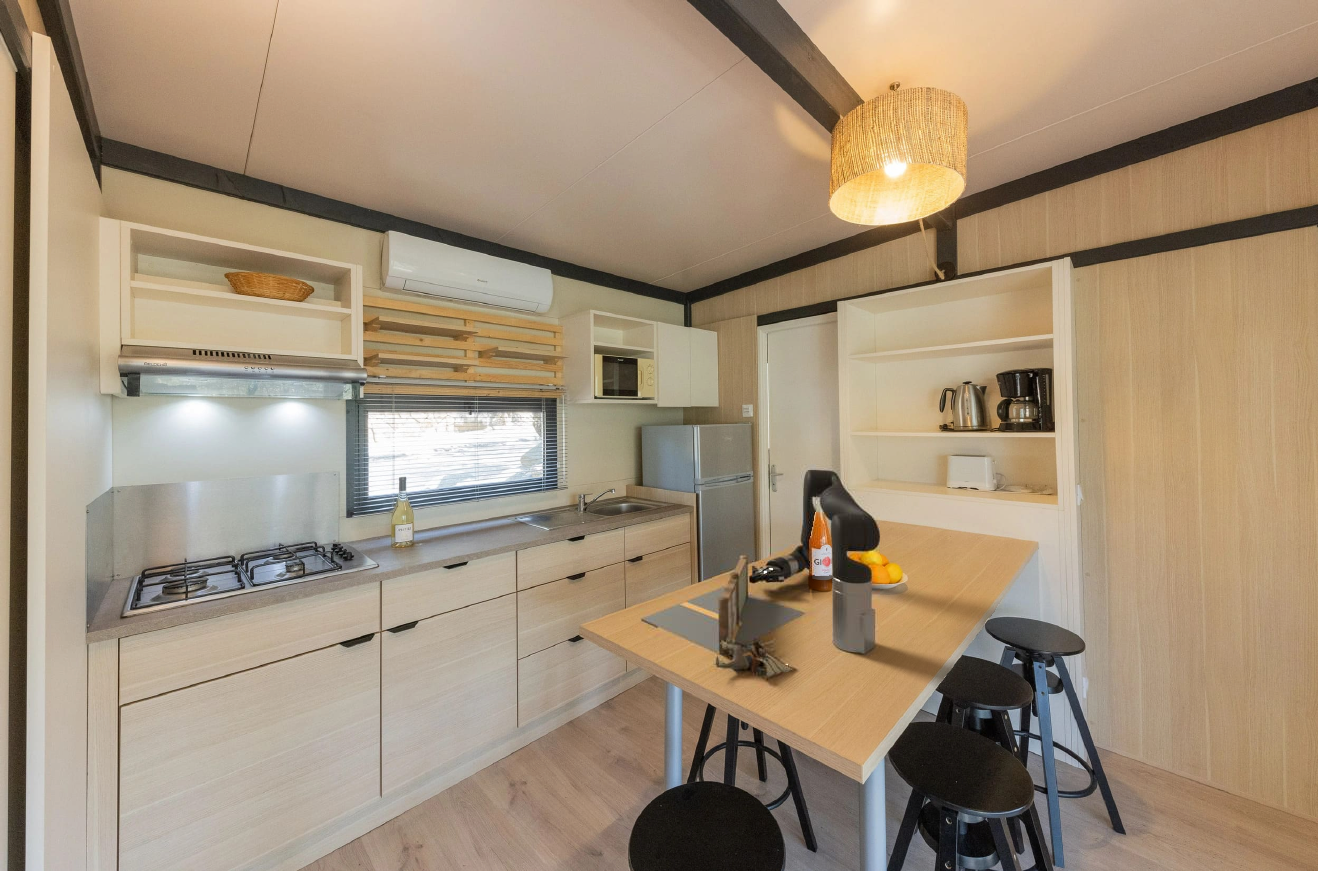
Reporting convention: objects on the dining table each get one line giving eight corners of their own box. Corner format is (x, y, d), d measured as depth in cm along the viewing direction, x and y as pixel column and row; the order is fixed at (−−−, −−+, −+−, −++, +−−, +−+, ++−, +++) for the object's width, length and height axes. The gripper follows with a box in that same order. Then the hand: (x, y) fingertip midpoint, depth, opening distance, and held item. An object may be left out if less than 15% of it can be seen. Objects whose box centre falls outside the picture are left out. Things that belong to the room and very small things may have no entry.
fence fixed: (731, 621, 136) (730, 572, 136) (739, 621, 136) (739, 572, 135) (718, 654, 117) (717, 597, 117) (727, 655, 117) (727, 598, 116)
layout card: (807, 614, 141) (807, 612, 141) (725, 659, 116) (725, 656, 116) (724, 587, 164) (724, 586, 164) (640, 620, 139) (640, 618, 139)
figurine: (743, 619, 124) (808, 642, 114) (741, 641, 125) (805, 666, 115) (704, 651, 108) (776, 681, 98) (702, 676, 108) (773, 709, 99)
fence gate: (739, 620, 136) (739, 574, 135) (731, 619, 137) (730, 574, 136) (748, 595, 155) (748, 555, 154) (741, 594, 155) (740, 554, 155)
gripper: (765, 553, 169) (734, 563, 158) (799, 561, 159) (768, 572, 148) (766, 574, 169) (734, 586, 158) (799, 583, 160) (768, 597, 148)
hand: (751, 579), depth 153 cm, fingers closed
